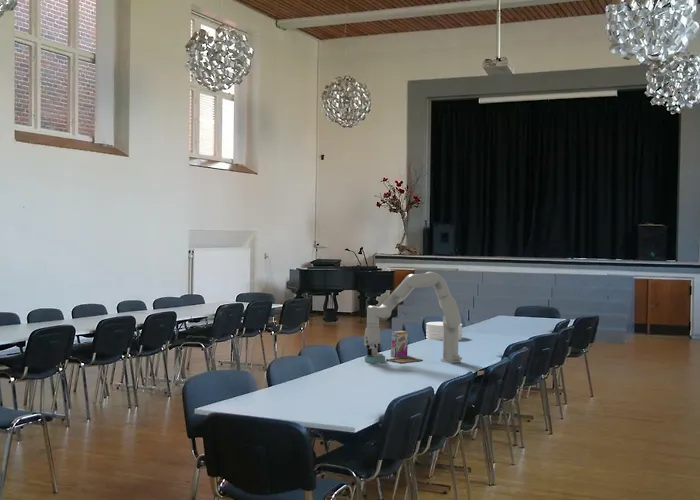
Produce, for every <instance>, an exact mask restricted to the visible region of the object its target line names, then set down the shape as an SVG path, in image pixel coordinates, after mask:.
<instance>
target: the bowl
mask: <svg viewBox="0 0 700 500" xmlns="http://www.w3.org/2000/svg"><path fill="white" fill-rule="evenodd" d="M364 362H365V363H367V364H378V363H379V364H380V363H385V362H386V356H385V355H384V354H383V357H373V356H372V355H367V354H366V355H364Z"/></svg>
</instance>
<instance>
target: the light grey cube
mask: <svg viewBox="0 0 700 500" xmlns="http://www.w3.org/2000/svg"><path fill="white" fill-rule="evenodd" d="M383 355H384V354H383V353H379V352H377V353H375V354H373V357H383Z"/></svg>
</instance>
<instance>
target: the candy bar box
mask: <svg viewBox="0 0 700 500" xmlns="http://www.w3.org/2000/svg"><path fill="white" fill-rule="evenodd" d="M390 336H391V338H390V357H392V358H400V357H408V347H409V344H408V343H409V331H406V330H398V331H391V335H390Z"/></svg>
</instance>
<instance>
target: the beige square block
mask: <svg viewBox="0 0 700 500" xmlns="http://www.w3.org/2000/svg"><path fill="white" fill-rule="evenodd" d="M371 349H372V350H371V355H372V356H373V354H375V353H378V348H377V347H374V346H371ZM366 355H368V354H366Z"/></svg>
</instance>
